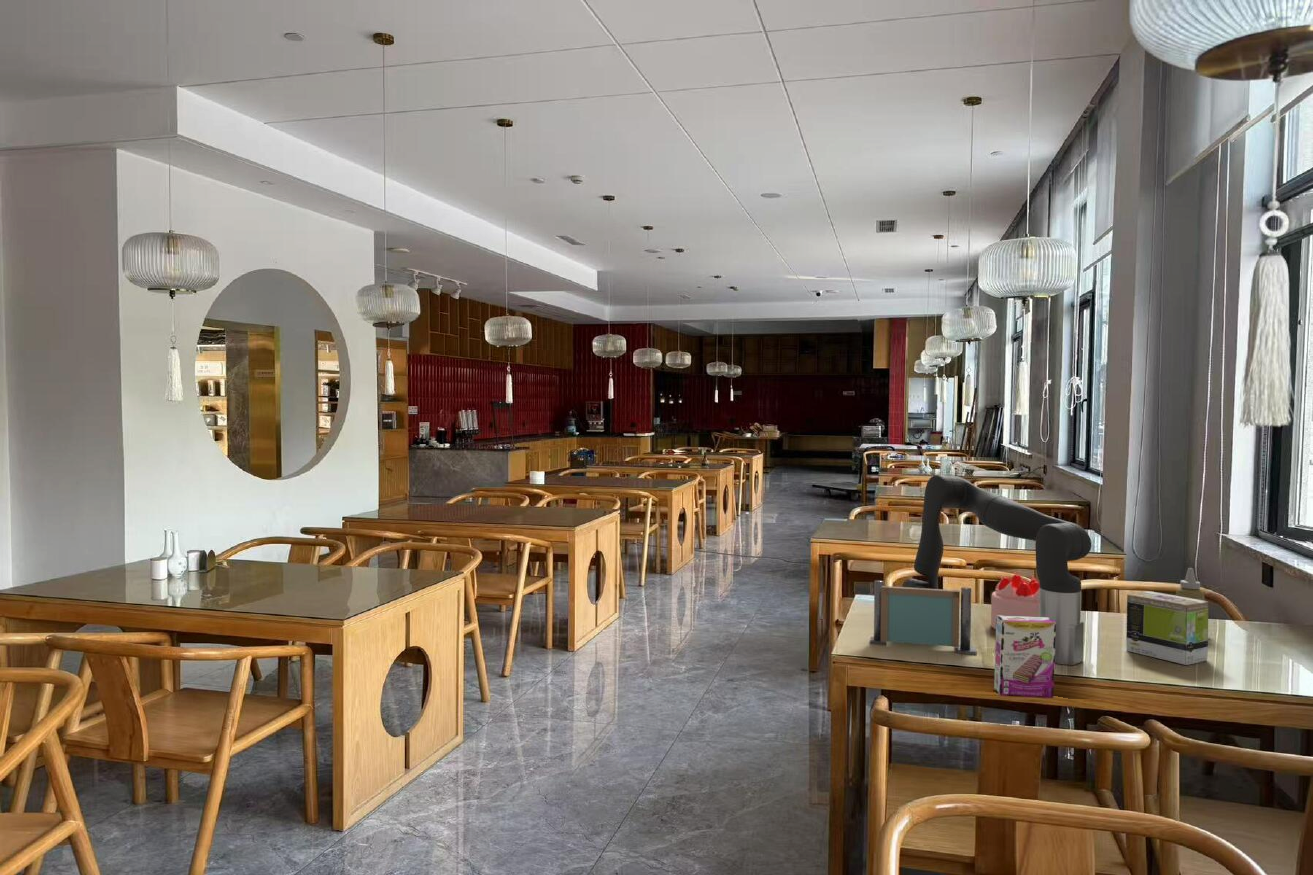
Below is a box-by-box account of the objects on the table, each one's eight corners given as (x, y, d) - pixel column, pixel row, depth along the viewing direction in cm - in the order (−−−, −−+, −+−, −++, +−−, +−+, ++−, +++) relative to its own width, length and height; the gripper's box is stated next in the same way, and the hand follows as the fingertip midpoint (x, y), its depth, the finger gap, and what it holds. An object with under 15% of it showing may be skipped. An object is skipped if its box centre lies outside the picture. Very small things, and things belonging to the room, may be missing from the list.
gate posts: (974, 647, 220) (975, 585, 219) (976, 654, 213) (977, 590, 213) (870, 639, 227) (871, 579, 226) (869, 646, 220) (870, 584, 220)
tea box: (1208, 660, 209) (1210, 600, 209) (1185, 666, 204) (1187, 604, 204) (1147, 645, 222) (1149, 589, 222) (1124, 651, 217) (1125, 593, 217)
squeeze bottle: (1175, 636, 232) (1177, 569, 231) (1168, 629, 239) (1170, 564, 239) (1210, 639, 229) (1212, 571, 228) (1202, 631, 237) (1203, 566, 236)
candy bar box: (1000, 697, 182) (1001, 620, 181) (993, 689, 187) (994, 614, 186) (1055, 699, 181) (1056, 621, 180) (1047, 691, 186) (1048, 616, 185)
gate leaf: (958, 645, 217) (959, 590, 217) (958, 647, 216) (959, 591, 215) (880, 639, 223) (881, 585, 222) (880, 641, 221) (881, 587, 220)
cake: (987, 619, 250) (988, 570, 250) (1062, 623, 245) (1063, 574, 245) (994, 635, 232) (995, 583, 231) (1076, 641, 226) (1077, 587, 226)
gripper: (896, 589, 239) (895, 603, 222) (946, 592, 235) (949, 606, 219) (895, 616, 239) (895, 631, 222) (945, 619, 235) (948, 635, 219)
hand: (922, 619), depth 221 cm, fingers closed
